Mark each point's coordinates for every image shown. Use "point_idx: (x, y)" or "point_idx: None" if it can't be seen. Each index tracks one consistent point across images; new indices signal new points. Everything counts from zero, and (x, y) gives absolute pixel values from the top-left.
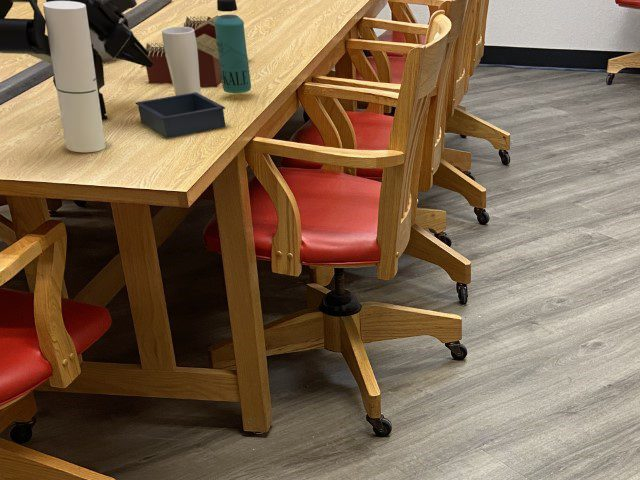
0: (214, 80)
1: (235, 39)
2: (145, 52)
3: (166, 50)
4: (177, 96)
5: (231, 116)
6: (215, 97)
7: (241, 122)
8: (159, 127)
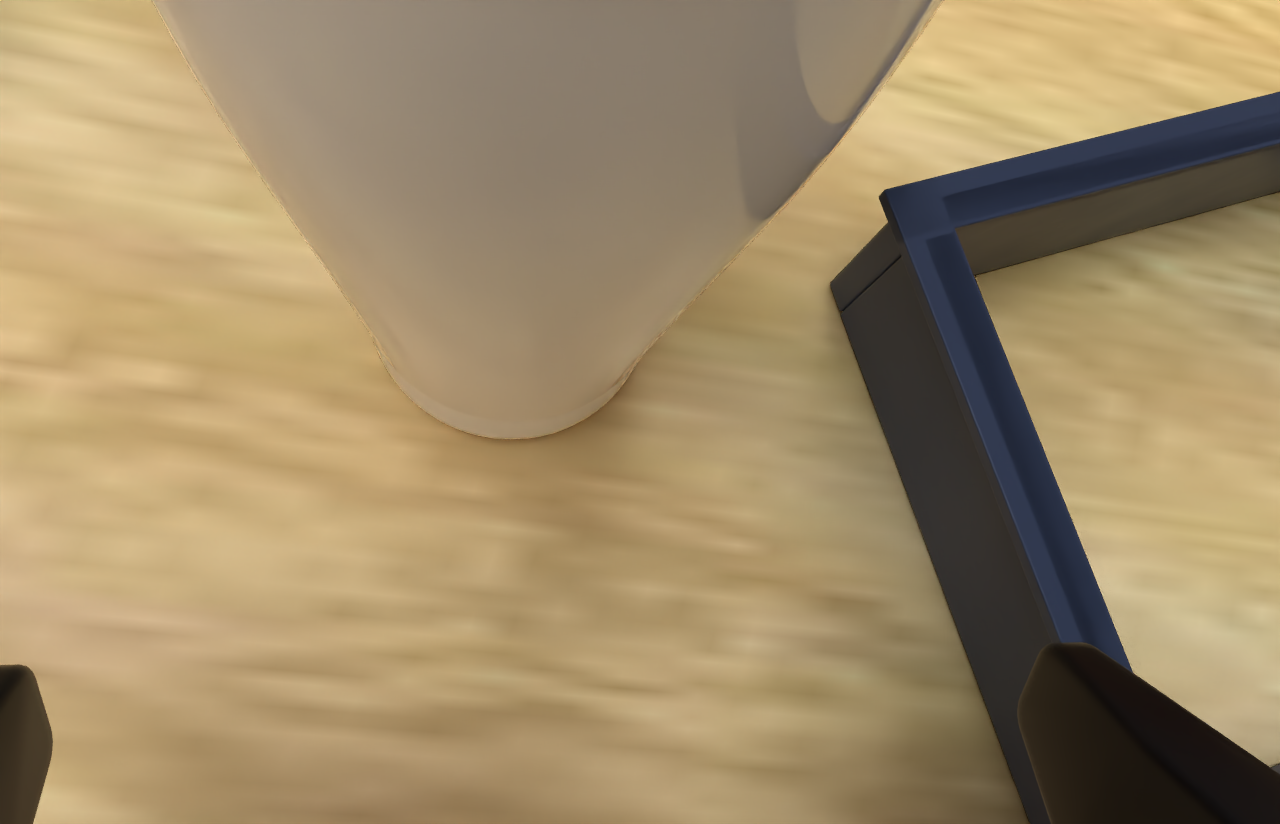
0: None
1: None
2: (10, 742)
3: (715, 227)
4: (1025, 425)
5: (1018, 45)
6: None
7: (1196, 15)
8: None
